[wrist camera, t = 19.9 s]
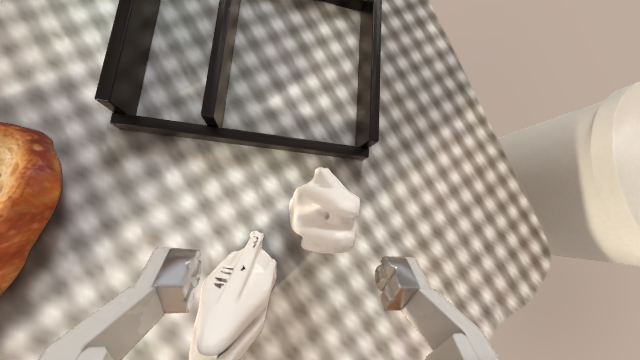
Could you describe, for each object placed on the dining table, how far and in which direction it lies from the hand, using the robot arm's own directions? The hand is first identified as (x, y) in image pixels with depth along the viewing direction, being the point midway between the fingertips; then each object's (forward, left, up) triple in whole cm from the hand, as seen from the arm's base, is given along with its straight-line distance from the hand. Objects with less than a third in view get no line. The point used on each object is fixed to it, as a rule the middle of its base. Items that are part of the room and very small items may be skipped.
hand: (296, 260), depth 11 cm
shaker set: (0, 0, -8) cm, 8 cm away
